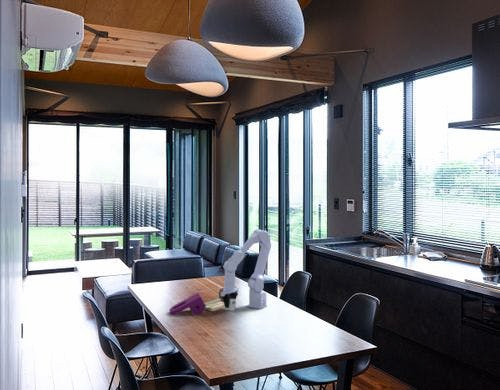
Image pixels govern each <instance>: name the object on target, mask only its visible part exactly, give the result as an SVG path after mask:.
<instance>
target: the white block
mask: <svg viewBox="0 0 500 390" xmlns="http://www.w3.org/2000/svg"><path fill="white" fill-rule="evenodd" d="M236 299H237V298H236ZM236 299H232V298H230V302H229V308H226V307H225V305H224V307H223V310H226V311H230V312H231V311H233V310H236V303H237V302H236Z"/></svg>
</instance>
